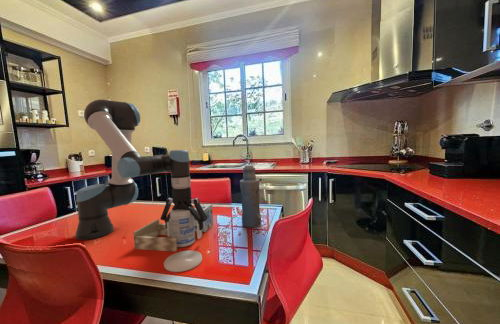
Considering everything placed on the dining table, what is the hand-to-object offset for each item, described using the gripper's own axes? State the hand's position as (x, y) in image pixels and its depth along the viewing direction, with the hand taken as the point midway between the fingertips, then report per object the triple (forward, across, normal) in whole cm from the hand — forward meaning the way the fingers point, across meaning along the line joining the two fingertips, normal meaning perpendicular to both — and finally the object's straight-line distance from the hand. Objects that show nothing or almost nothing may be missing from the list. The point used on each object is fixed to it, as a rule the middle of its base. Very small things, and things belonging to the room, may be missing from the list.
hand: (184, 236), depth 94 cm
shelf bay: (+3, -9, 0) cm, 10 cm away
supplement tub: (+3, -1, 0) cm, 3 cm away
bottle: (+3, +24, +24) cm, 34 cm away
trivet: (+3, +7, -14) cm, 16 cm away
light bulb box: (+3, +1, +17) cm, 17 cm away
